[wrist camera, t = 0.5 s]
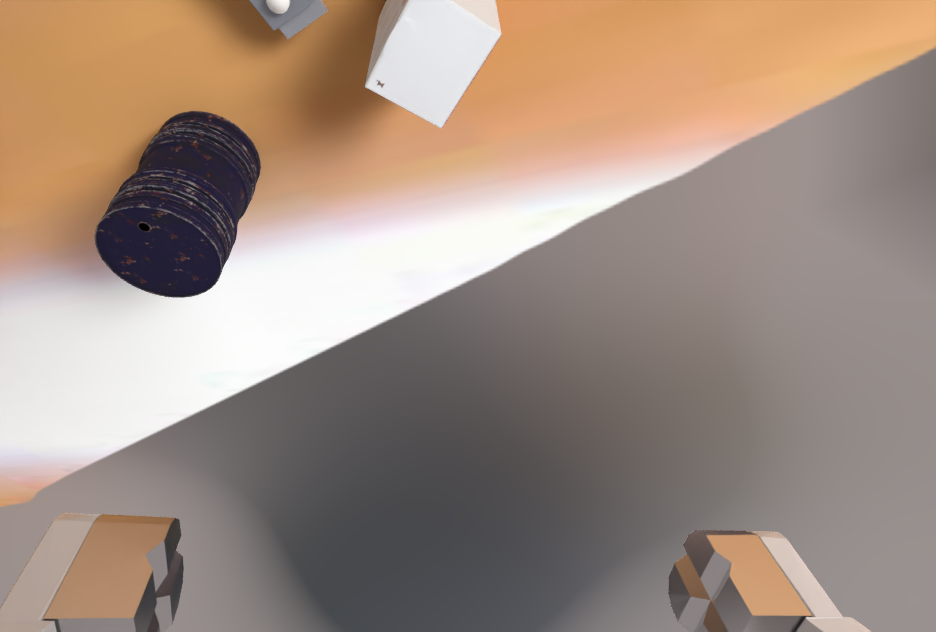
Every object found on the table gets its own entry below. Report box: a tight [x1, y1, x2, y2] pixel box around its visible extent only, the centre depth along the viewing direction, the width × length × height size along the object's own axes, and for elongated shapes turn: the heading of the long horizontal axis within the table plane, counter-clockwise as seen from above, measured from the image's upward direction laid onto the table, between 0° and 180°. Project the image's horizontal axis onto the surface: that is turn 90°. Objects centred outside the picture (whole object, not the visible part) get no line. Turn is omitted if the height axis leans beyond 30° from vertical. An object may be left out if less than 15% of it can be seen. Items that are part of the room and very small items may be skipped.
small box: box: [365, 0, 501, 128], centre depth 45 cm, size 8×6×13 cm
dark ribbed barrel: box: [95, 111, 261, 297], centre depth 54 cm, size 10×10×15 cm
